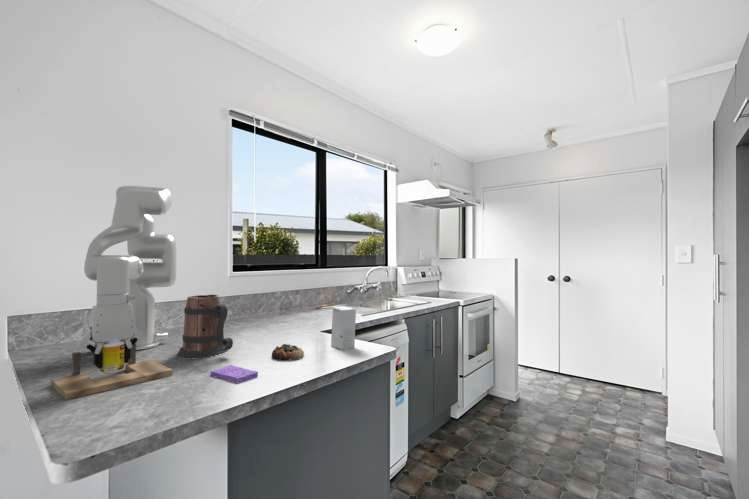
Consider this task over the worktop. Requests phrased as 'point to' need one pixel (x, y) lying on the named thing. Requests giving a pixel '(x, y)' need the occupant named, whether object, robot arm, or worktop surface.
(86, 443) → the worktop surface
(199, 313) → the tankard
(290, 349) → the bread roll
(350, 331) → the skincare box
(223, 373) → the sponges
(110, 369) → the supplement bottle
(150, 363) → the shelf board
